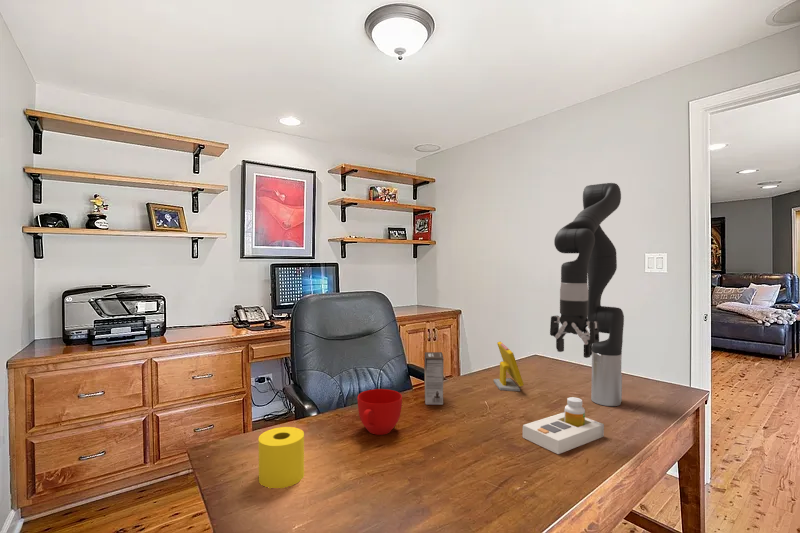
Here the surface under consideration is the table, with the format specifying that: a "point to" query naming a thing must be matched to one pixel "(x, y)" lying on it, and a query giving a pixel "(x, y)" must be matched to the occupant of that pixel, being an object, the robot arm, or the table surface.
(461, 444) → the table surface
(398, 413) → the ceramic cup
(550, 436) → the white bottle holder
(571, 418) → the supplement bottle
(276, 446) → the yellow toilet paper roll
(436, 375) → the coffee box
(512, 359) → the yellow framed monitor
